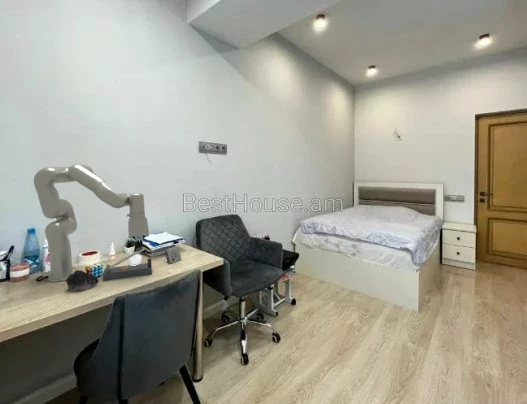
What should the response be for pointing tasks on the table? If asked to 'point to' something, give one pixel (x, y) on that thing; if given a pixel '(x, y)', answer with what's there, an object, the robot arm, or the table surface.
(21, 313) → the table surface
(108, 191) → the robot arm
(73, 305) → the table surface
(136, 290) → the table surface
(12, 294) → the table surface
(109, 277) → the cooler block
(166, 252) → the electrical switch
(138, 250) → the thin grey rod
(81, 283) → the crystal cluster
